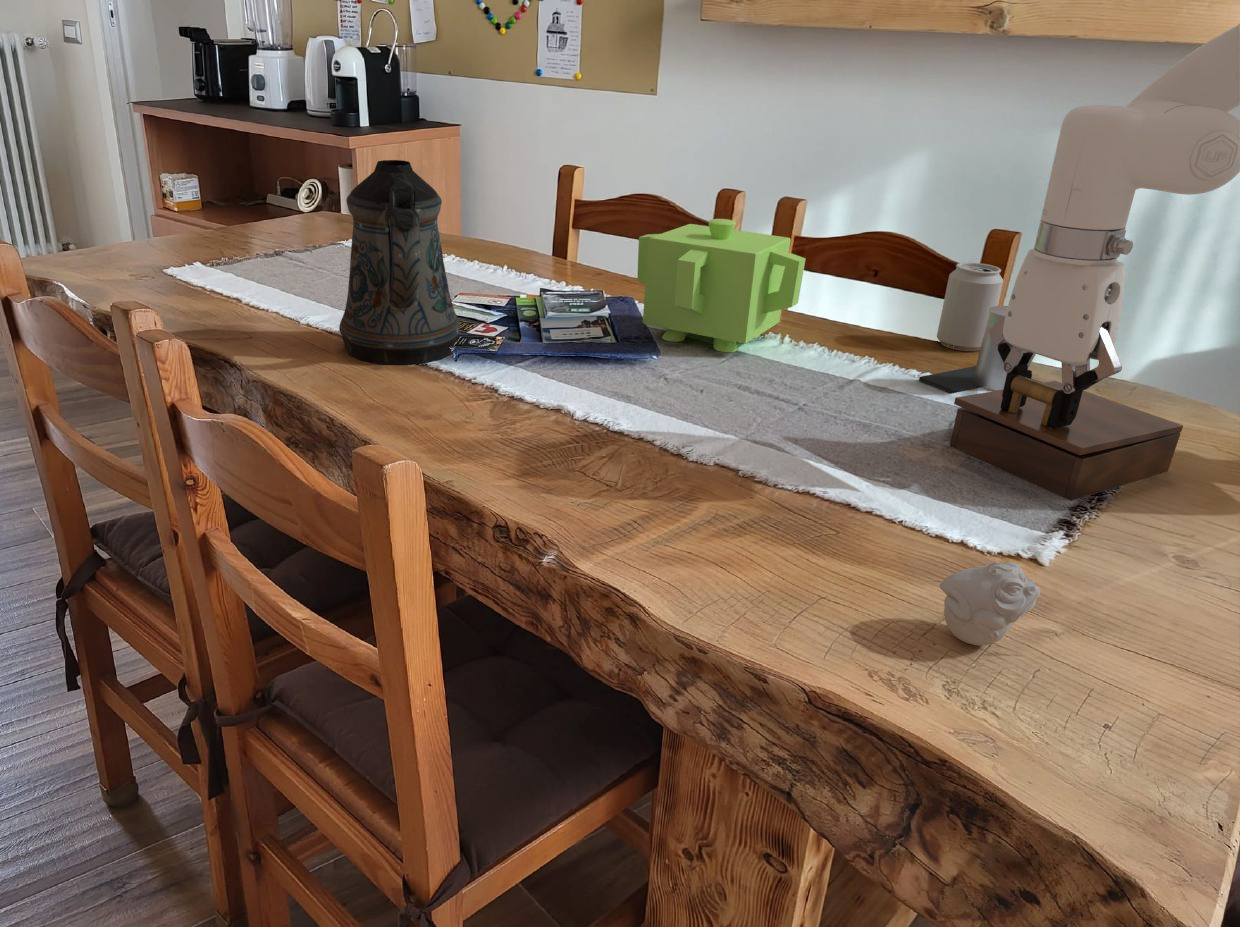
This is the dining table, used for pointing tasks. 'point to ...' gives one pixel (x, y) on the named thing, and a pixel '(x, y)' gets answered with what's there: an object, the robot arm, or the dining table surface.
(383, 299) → the dark ornate jug
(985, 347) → the steel canister
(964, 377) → the mat
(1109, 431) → the lid
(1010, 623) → the frog figurine
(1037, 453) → the brown shallow square box
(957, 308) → the can
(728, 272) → the green square teapot
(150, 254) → the dining table surface
